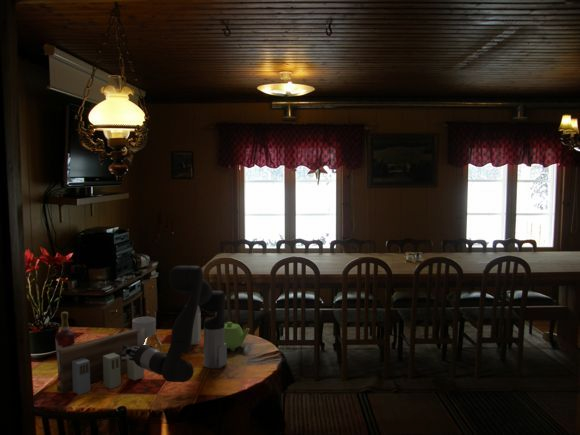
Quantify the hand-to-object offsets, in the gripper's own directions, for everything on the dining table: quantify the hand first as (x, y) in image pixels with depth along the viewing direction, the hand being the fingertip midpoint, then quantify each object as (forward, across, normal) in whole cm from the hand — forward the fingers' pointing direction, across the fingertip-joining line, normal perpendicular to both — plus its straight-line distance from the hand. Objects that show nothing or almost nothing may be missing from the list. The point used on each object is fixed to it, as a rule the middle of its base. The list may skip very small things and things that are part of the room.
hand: (124, 347), depth 181 cm
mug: (+41, -34, +18) cm, 56 cm away
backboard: (+19, 0, +18) cm, 26 cm away
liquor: (+29, +10, +18) cm, 35 cm away
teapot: (+8, -61, +18) cm, 64 cm away
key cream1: (+10, -10, +18) cm, 23 cm away
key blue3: (+14, +11, +18) cm, 25 cm away
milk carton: (+27, -53, +18) cm, 63 cm away
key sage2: (+10, 0, +18) cm, 20 cm away
